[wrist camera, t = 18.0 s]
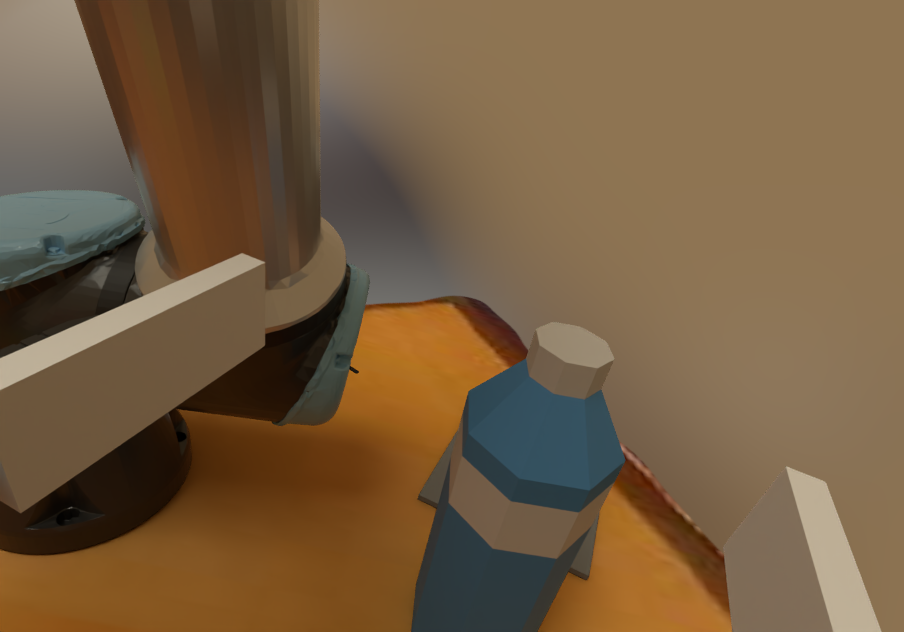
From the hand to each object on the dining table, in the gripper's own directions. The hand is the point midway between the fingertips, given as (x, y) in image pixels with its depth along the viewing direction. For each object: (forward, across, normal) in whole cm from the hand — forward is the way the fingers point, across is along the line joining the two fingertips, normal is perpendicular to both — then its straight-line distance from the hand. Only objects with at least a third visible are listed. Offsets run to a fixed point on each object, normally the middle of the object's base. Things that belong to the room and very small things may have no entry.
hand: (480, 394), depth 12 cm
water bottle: (+12, +2, -30) cm, 33 cm away
